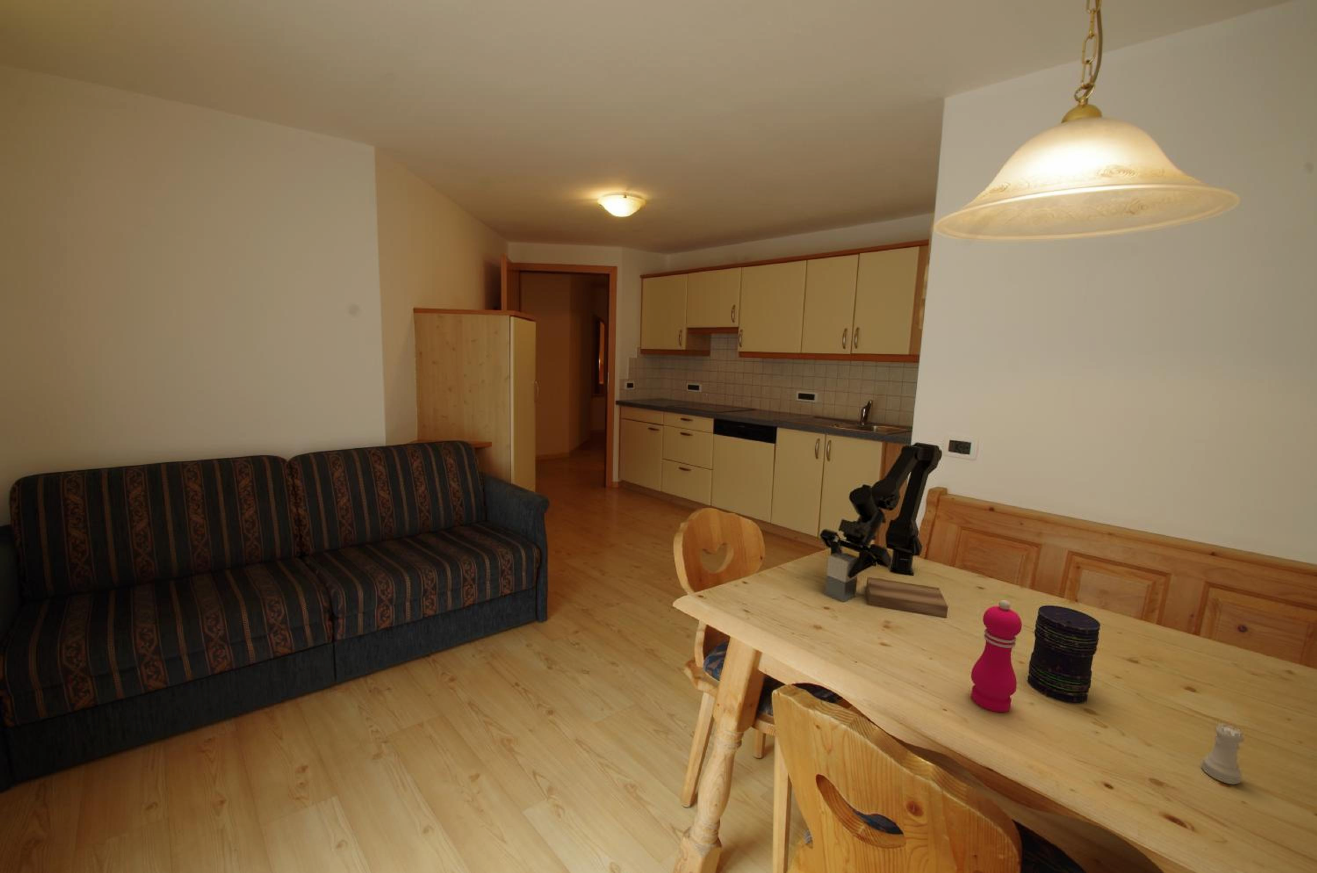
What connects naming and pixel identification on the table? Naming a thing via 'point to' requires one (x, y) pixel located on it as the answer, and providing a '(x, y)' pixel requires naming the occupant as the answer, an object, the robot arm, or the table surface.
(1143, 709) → the table surface
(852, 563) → the block
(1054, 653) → the dark ridged cylinder
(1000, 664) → the pepper mill
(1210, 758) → the rook chess piece
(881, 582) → the stand
